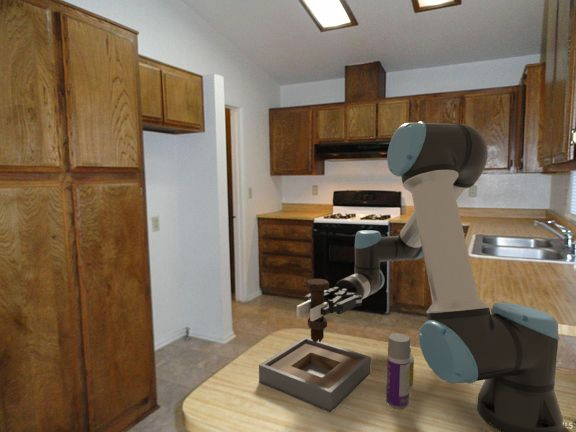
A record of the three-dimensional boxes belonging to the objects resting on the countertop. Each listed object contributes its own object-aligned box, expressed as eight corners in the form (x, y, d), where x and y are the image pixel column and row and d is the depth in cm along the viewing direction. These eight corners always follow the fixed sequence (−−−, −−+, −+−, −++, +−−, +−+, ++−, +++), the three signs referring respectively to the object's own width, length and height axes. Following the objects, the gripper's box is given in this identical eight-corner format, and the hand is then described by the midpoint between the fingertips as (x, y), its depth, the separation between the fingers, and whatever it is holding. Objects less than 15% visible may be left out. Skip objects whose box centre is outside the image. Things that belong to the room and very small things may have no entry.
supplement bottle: (414, 391, 89) (415, 351, 88) (390, 388, 90) (391, 349, 89) (411, 379, 94) (412, 341, 93) (389, 376, 95) (390, 339, 94)
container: (381, 399, 85) (383, 335, 84) (397, 394, 87) (399, 331, 86) (396, 411, 81) (398, 343, 79) (412, 405, 83) (415, 339, 82)
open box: (370, 373, 96) (370, 356, 96) (330, 412, 81) (330, 392, 80) (305, 352, 108) (305, 336, 108) (259, 382, 92) (258, 364, 92)
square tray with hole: (364, 371, 96) (364, 360, 96) (328, 405, 82) (328, 392, 82) (306, 352, 107) (306, 342, 106) (266, 379, 93) (265, 367, 92)
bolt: (303, 342, 93) (303, 282, 92) (308, 334, 98) (308, 277, 96) (326, 346, 91) (326, 285, 90) (330, 337, 96) (331, 279, 94)
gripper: (378, 308, 103) (334, 337, 85) (326, 297, 113) (277, 321, 94) (379, 281, 102) (335, 304, 84) (327, 272, 112) (277, 291, 94)
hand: (304, 313), depth 89 cm, fingers closed on bolt, 3 cm apart
